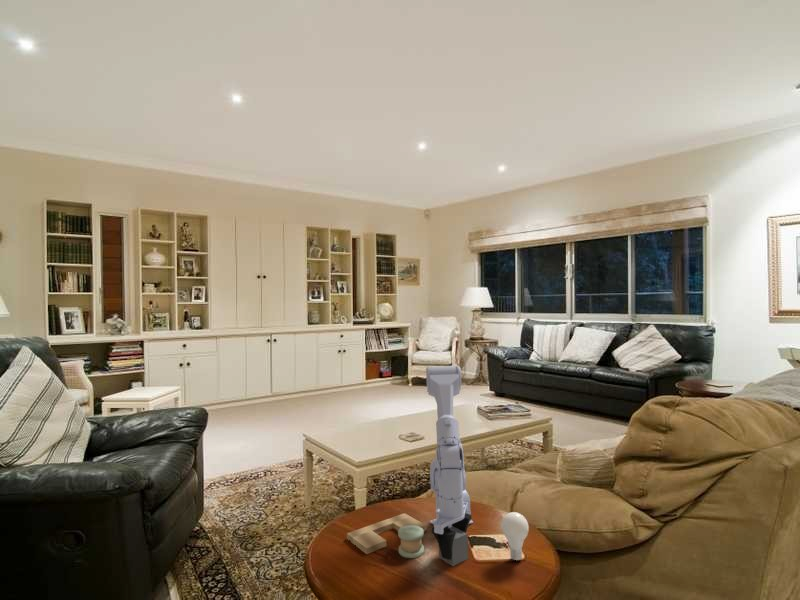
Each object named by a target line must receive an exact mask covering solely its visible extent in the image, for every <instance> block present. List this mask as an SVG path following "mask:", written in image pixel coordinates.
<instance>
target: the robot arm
mask: <svg viewBox="0 0 800 600" xmlns="http://www.w3.org/2000/svg"><path fill="white" fill-rule="evenodd" d="M461 369H462V368H461V366H459V365H449V366H448V365H447V366H446V365H442V366H440V365H439V366H430V365H429V366H427V367H426V368H425V371H426V373H425V374H426V387H427V389H426V390H427V392H428V393H427V395H429V396H431V397H433V398H434V400H435V401H436V408H437V409H436V411H437V420H436V421H435V422H436V423H435V427H436V429H435V430H436V443H437V444H436V445H437V447H435V458H434V459H433V460H432V461H431V462H430V464H429V465H430V466H429V467H430V469H429V477H430V478H429V479H430V480H429V482H430V490H431V492H433V493H434V495H435V516H436V518H434V519H432V520H431V519H430V521H429V523H430V524H432V528H431V533H432V536H434V539H435V540H436V542H437V545H438V549H439V548H440V551H441V555H442V558H445V559H448V560H450V559H451V557H452V546H453V540H454V537H455V534H456V532H455V531H451V530H450V528H451V527H455V528H457V529H459V530H461V531H463V532H465V533H468V532H467V531H468V528H469V525H471V524H473V523H474V521H473V520H472V514H471V499H470V495H469V493H468V491H467V490H466V488H467V482H466V479H467V477H466V470H465V459H464V456H465V455H464V449H463V444H462V440H461V438H460V427H459V420H458V419H457V418H456V417H454V397H455V396H457V395H459V394H460V391H461V387H462V370H461Z"/></svg>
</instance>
